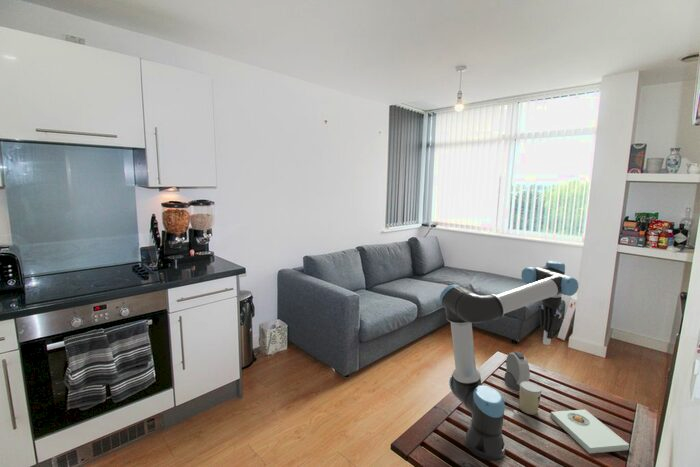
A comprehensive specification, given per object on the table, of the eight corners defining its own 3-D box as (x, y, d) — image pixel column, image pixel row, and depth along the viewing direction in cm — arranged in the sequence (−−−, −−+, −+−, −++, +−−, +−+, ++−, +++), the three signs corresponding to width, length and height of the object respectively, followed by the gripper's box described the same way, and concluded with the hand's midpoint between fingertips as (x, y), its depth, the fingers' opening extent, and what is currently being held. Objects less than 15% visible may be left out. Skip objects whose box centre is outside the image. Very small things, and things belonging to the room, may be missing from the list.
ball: (578, 423, 150) (575, 415, 152) (573, 425, 152) (570, 416, 154) (585, 424, 150) (582, 415, 152) (579, 425, 153) (576, 417, 155)
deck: (628, 450, 138) (629, 444, 137) (589, 453, 135) (590, 447, 135) (584, 414, 159) (585, 409, 159) (550, 416, 157) (550, 411, 156)
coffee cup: (542, 417, 156) (544, 393, 155) (520, 414, 158) (523, 390, 156) (535, 404, 165) (538, 382, 164) (515, 401, 167) (517, 379, 166)
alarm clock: (533, 393, 174) (536, 361, 172) (513, 393, 174) (516, 360, 172) (517, 376, 190) (521, 346, 188) (500, 375, 190) (502, 345, 188)
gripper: (570, 299, 147) (564, 350, 150) (549, 290, 159) (543, 337, 163) (555, 300, 145) (549, 350, 149) (534, 290, 158) (529, 337, 162)
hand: (546, 343), depth 156 cm, fingers closed
